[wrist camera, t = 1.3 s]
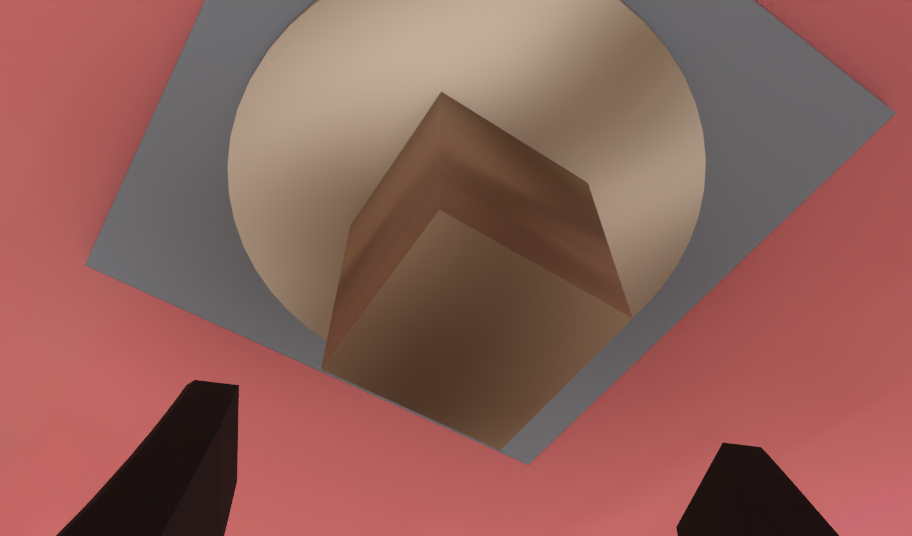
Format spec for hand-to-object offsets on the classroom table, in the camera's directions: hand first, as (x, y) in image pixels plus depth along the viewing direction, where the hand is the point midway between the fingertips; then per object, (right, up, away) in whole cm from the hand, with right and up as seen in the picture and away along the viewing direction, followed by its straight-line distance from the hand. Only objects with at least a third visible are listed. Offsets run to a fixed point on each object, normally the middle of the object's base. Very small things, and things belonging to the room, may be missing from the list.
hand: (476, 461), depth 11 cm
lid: (0, +5, +7) cm, 8 cm away
